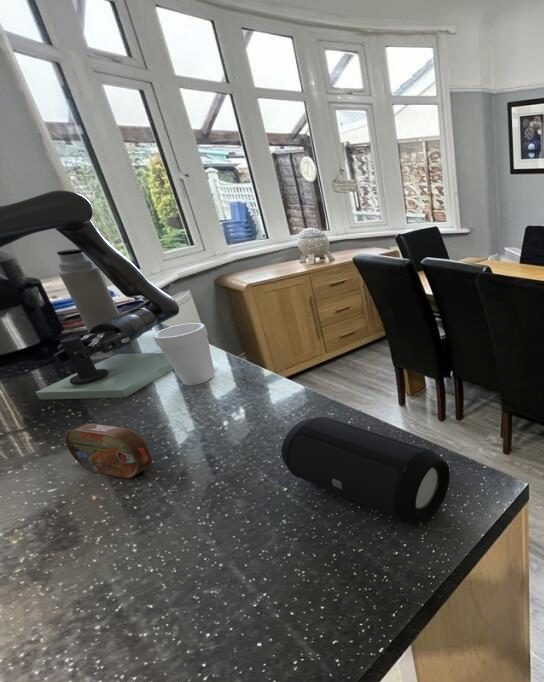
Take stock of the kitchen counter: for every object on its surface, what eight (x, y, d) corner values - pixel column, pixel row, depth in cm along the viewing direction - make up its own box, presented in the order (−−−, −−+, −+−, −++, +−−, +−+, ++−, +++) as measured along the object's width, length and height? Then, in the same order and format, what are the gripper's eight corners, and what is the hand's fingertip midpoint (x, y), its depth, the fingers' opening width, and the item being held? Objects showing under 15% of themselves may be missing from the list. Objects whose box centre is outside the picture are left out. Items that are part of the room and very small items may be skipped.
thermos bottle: (97, 341, 121) (51, 250, 110) (131, 334, 126) (90, 246, 115) (93, 349, 116) (45, 254, 104) (129, 341, 120) (86, 249, 109)
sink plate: (39, 399, 89) (35, 392, 89) (119, 360, 108) (116, 354, 107) (125, 397, 89) (122, 389, 88) (191, 358, 108) (189, 351, 107)
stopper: (66, 391, 92) (39, 345, 87) (93, 377, 98) (70, 333, 93) (93, 391, 92) (69, 344, 87) (119, 377, 98) (98, 333, 93)
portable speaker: (285, 487, 62) (267, 435, 58) (335, 449, 70) (323, 401, 66) (415, 545, 52) (404, 487, 47) (456, 493, 60) (450, 439, 56)
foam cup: (167, 391, 91) (144, 340, 86) (185, 373, 99) (165, 325, 94) (214, 384, 93) (194, 334, 88) (227, 367, 102) (210, 320, 96)
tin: (77, 469, 67) (52, 429, 64) (99, 457, 70) (76, 417, 67) (143, 482, 64) (121, 440, 60) (163, 469, 67) (143, 428, 63)
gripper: (82, 319, 101) (20, 346, 86) (144, 314, 104) (95, 339, 88) (95, 346, 104) (38, 376, 89) (155, 340, 107) (110, 369, 91)
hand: (67, 358), depth 89 cm, fingers closed on stopper, 3 cm apart
